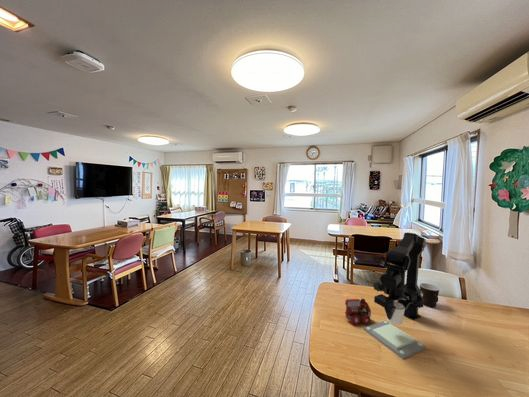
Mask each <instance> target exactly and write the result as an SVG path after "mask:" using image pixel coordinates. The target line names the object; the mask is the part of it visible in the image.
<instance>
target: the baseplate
mask: <svg viewBox="0 0 529 397" xmlns="http://www.w3.org/2000/svg"><path fill="white" fill-rule="evenodd" d="M363 331H365V332H366V333H367V334H369V335H370V336H371V337H373V339H376V341H378V342H380V343H381V344H382V345H384V346H385V347H386V348H388V349H389V350H390V351H391V352H393V353H394V354H395V355H397V356H399V358H401V359H402V360H405V359H407V358H409V357H411V356H413V355H416V354H418V353H419V352H422V351H424V350H427V345H425V344H424V343H422V342H421V341H418V340H417V339H415V338H414V337H413V336H411V335H409V334H408V333H406V332H404V331H403V330H401V329H399V328H398V327H396V326H394V324H392V323H390V322H389V321H388V320H383V321H380V322H377V323H376V322H375V323H373V324H371V325H368V326H367V325H366V326H364V327H363Z"/></svg>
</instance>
